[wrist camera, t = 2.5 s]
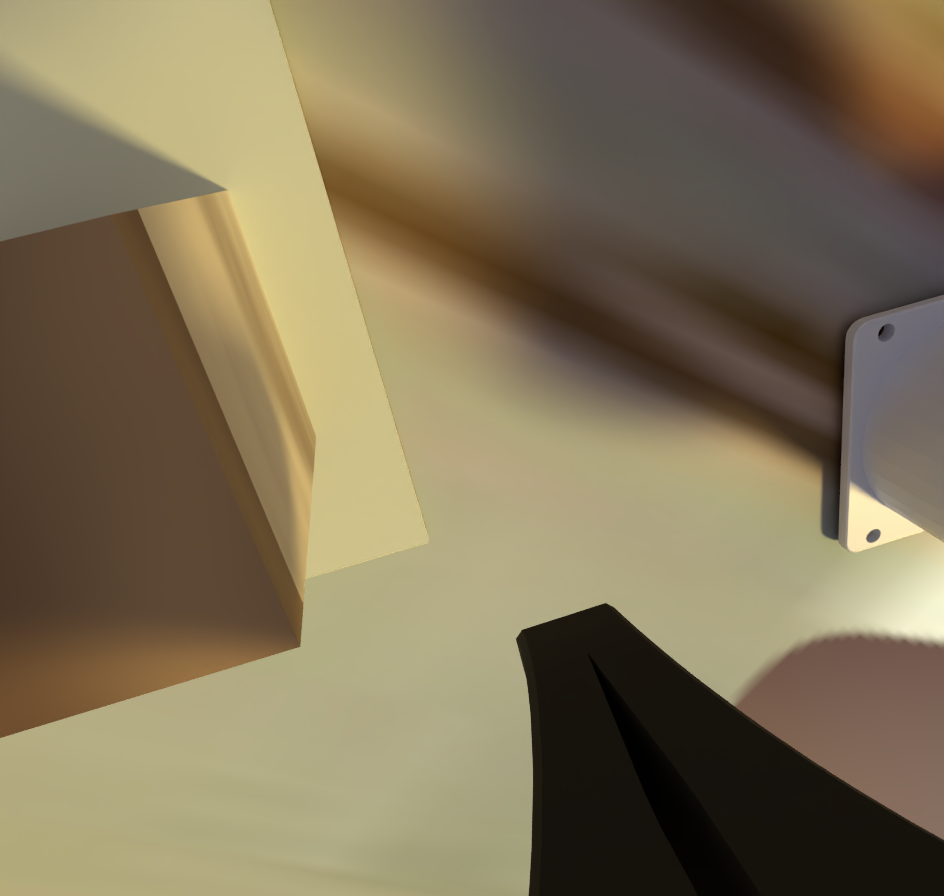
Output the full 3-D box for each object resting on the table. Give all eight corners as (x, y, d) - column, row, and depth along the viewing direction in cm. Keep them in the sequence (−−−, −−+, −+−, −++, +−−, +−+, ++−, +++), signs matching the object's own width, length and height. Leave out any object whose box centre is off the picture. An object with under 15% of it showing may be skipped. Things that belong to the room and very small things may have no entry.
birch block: (228, 190, 14) (110, 214, 7) (316, 436, 16) (299, 646, 9) (-58, 259, 13) (-516, 366, 6) (78, 502, 16) (-134, 777, 9)
